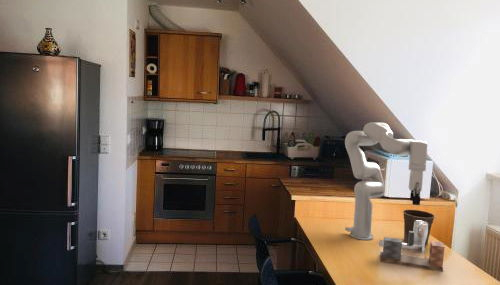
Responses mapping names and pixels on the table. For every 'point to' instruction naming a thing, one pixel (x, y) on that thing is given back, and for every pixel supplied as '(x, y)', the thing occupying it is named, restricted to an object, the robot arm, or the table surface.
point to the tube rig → (394, 256)
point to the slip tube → (406, 246)
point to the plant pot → (413, 216)
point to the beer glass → (420, 233)
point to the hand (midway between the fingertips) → (414, 202)
